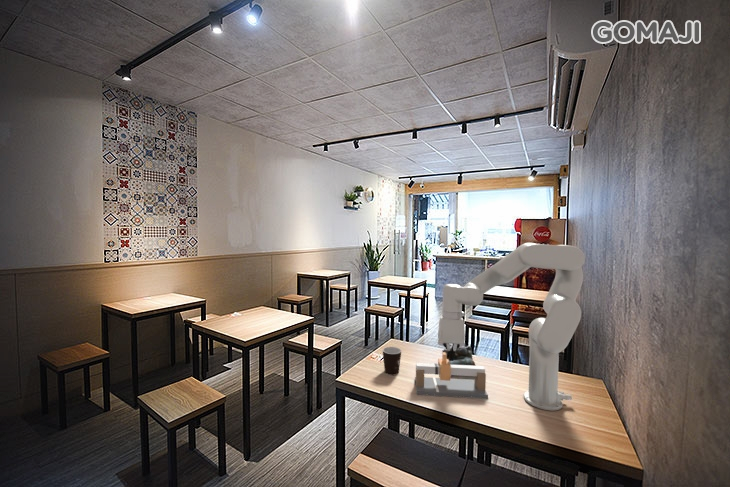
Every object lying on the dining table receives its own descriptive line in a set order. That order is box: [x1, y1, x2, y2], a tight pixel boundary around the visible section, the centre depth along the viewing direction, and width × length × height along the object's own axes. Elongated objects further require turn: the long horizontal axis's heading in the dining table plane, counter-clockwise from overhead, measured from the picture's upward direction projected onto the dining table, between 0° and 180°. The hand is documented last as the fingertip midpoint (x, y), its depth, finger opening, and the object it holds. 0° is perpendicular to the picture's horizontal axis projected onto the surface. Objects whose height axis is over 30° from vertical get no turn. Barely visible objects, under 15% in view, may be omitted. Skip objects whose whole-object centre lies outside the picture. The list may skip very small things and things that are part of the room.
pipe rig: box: [414, 362, 489, 400], centre depth 126 cm, size 27×12×10 cm, turn 85°
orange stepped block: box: [437, 351, 452, 381], centre depth 126 cm, size 4×6×10 cm, turn 175°
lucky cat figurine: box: [441, 343, 477, 366], centre depth 144 cm, size 15×12×14 cm
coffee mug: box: [382, 346, 402, 376], centre depth 142 cm, size 12×9×10 cm
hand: (450, 359), depth 126 cm, fingers closed
